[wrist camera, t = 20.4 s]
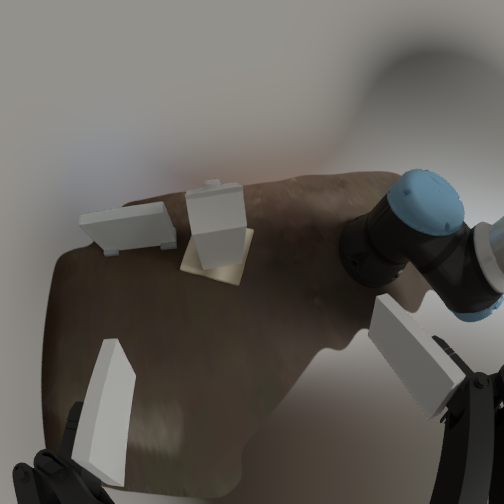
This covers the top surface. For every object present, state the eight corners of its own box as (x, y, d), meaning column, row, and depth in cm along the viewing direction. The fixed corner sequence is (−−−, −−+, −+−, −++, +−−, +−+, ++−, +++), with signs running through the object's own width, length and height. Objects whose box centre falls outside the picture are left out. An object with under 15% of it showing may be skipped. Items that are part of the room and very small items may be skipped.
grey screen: (176, 229, 51) (163, 196, 40) (176, 248, 50) (163, 218, 39) (106, 238, 50) (81, 209, 39) (105, 256, 48) (77, 230, 37)
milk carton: (242, 263, 49) (249, 210, 31) (203, 270, 48) (187, 220, 30) (235, 228, 51) (237, 163, 34) (197, 234, 50) (182, 171, 33)
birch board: (253, 232, 52) (254, 229, 52) (238, 286, 48) (239, 284, 47) (199, 218, 53) (198, 216, 52) (180, 270, 49) (179, 268, 48)
